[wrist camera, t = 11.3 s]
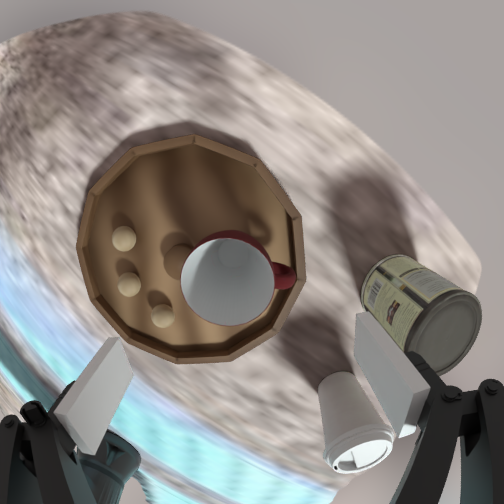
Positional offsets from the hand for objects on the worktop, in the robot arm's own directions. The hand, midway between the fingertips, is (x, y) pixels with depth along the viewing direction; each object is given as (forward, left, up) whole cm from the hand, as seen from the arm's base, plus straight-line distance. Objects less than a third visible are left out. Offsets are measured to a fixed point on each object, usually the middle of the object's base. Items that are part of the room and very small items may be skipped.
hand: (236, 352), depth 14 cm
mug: (0, 0, -20) cm, 20 cm away
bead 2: (-14, -2, -19) cm, 24 cm away
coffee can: (+20, -8, -21) cm, 30 cm away
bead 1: (-14, +4, -19) cm, 24 cm away
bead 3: (-11, -6, -19) cm, 23 cm away
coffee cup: (+12, -24, -21) cm, 34 cm away
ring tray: (-7, 0, -21) cm, 22 cm away
